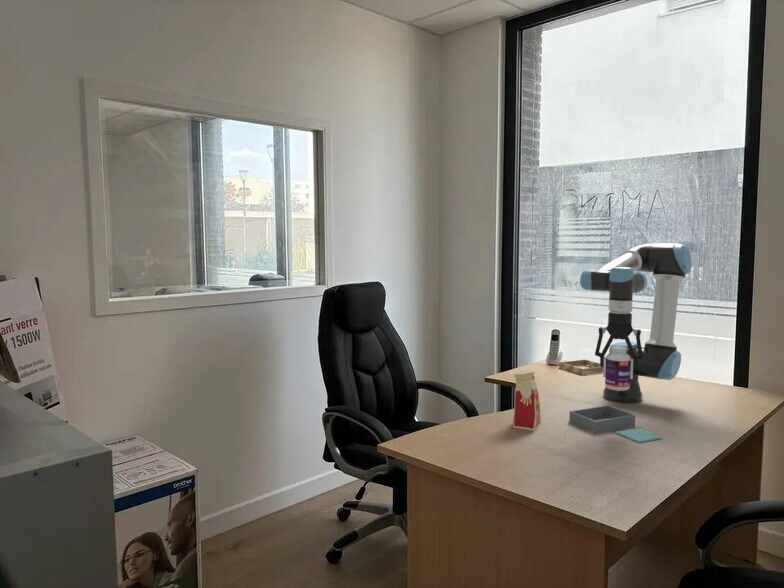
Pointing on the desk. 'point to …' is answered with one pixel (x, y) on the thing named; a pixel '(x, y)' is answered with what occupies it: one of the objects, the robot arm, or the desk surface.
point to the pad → (639, 435)
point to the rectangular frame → (616, 422)
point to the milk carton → (526, 403)
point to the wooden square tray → (571, 367)
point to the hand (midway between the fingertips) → (617, 377)
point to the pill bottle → (618, 369)
